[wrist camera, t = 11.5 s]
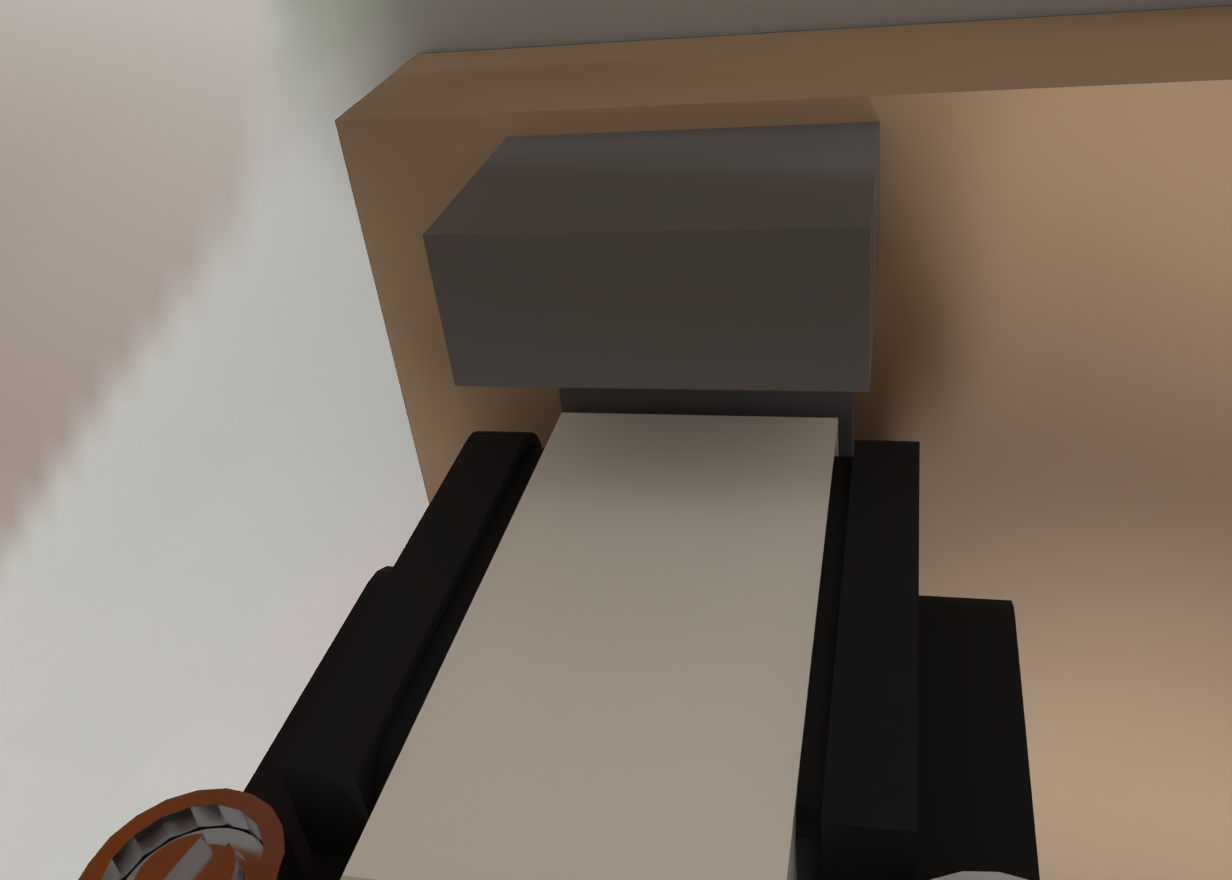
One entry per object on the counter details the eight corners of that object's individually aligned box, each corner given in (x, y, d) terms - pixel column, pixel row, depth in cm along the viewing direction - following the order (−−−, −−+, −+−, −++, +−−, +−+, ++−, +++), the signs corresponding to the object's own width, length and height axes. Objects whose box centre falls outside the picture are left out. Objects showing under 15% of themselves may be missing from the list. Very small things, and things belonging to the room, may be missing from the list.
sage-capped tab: (841, 678, 11) (788, 1325, 7) (601, 661, 12) (416, 1249, 8) (838, 417, 10) (766, 1045, 5) (561, 411, 10) (294, 975, 6)
